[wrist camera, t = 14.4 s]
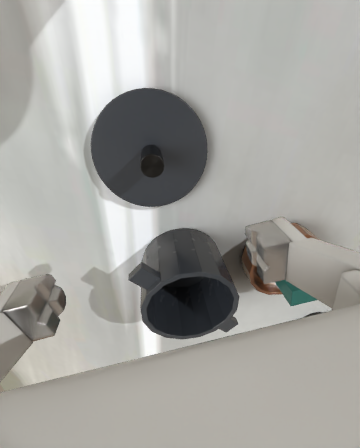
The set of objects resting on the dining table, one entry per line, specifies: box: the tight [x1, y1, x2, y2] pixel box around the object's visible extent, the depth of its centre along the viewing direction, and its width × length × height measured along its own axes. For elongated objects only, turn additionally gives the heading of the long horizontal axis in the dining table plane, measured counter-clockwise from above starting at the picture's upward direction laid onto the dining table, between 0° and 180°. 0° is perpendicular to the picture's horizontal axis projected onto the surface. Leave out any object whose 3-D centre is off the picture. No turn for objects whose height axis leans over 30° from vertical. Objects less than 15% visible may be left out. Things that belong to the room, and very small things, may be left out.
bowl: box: [241, 223, 319, 295], centre depth 36 cm, size 12×12×4 cm
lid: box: [91, 88, 207, 207], centre depth 25 cm, size 13×13×6 cm
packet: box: [275, 280, 317, 306], centre depth 34 cm, size 3×5×9 cm, turn 101°
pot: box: [129, 229, 239, 339], centre depth 32 cm, size 12×18×10 cm
